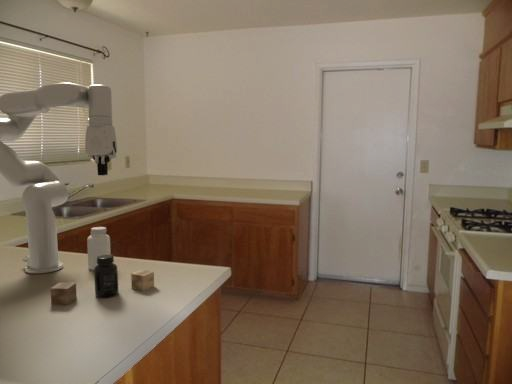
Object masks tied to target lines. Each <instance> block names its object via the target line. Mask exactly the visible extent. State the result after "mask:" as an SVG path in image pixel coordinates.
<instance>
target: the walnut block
mask: <svg viewBox="0 0 512 384" xmlns="http://www.w3.org/2000/svg"><path fill="white" fill-rule="evenodd" d="M75 300H77V283H76V282H58V283H56V284H55V285H54V286H52V287H50V303H51V304H50V305H52V306H70V304H72V303H73V302H75Z"/></svg>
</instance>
